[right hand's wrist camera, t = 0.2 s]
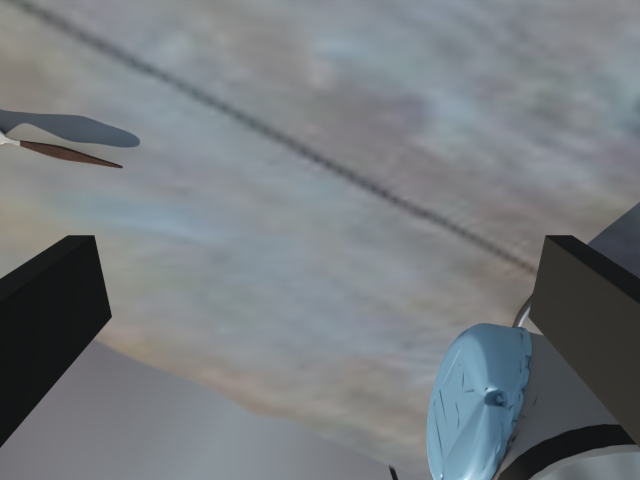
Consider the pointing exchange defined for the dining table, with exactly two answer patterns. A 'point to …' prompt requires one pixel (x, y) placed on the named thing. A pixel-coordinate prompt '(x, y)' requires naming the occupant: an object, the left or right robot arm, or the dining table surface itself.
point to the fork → (57, 151)
